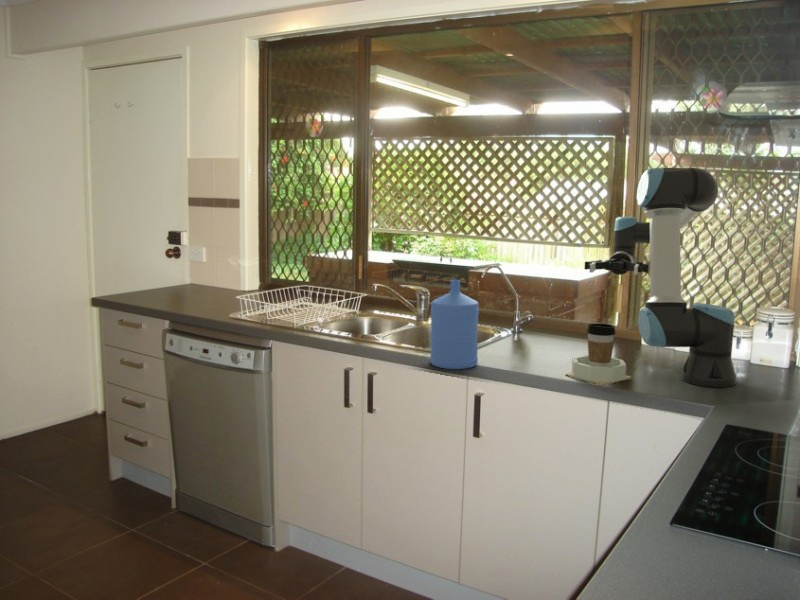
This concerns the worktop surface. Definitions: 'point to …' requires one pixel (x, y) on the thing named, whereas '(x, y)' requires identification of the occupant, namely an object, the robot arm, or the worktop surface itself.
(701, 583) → the worktop surface
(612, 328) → the coffee cup
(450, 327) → the water jug
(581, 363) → the bowl
